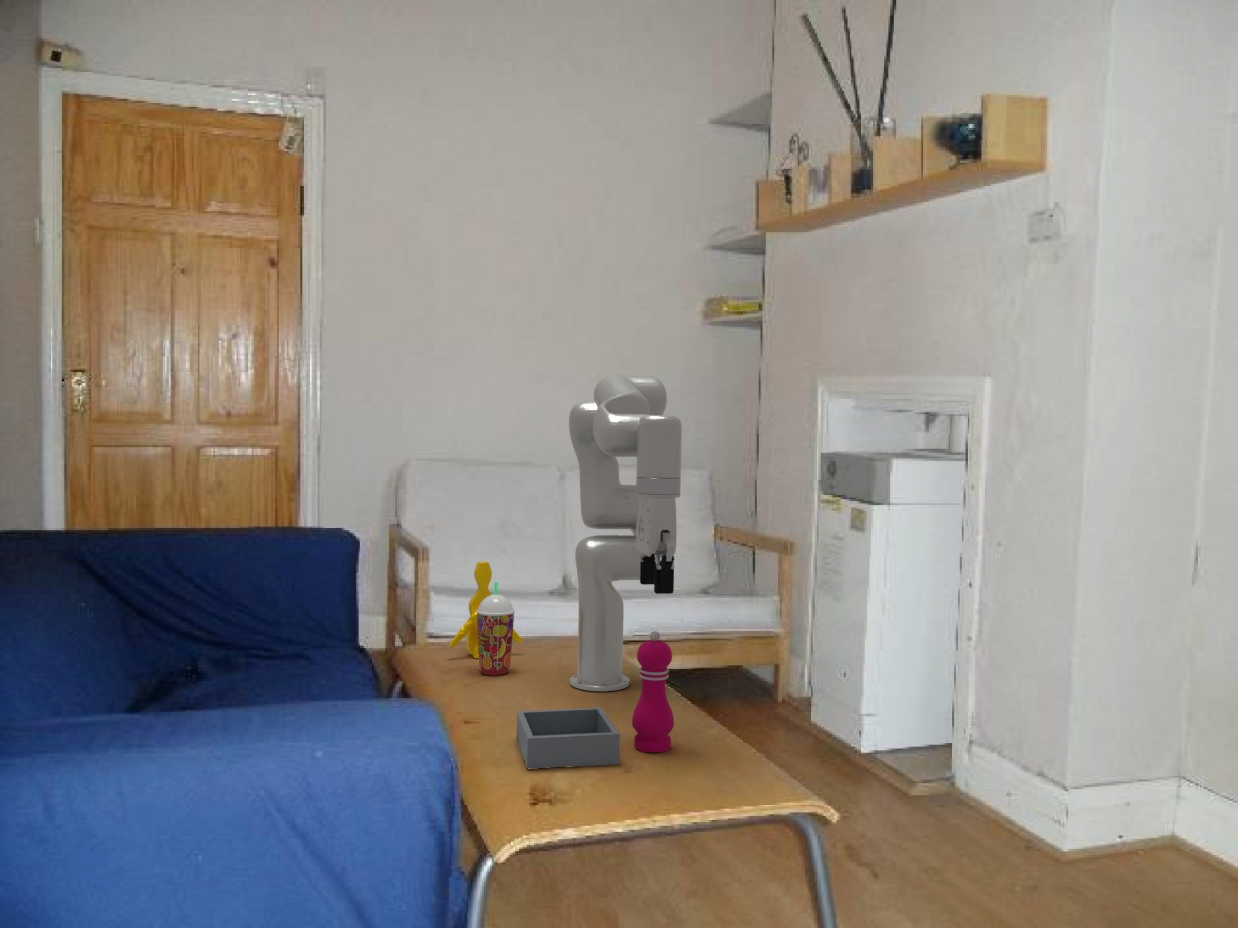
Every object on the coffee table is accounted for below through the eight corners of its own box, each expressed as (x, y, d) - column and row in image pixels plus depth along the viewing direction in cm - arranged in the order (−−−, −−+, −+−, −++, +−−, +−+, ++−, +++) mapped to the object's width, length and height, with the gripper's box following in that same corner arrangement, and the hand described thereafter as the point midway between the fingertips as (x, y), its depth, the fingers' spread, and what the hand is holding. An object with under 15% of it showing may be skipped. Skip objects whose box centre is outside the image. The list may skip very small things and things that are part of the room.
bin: (516, 739, 170) (516, 711, 170) (600, 735, 173) (601, 707, 173) (527, 769, 156) (527, 738, 155) (619, 764, 159) (619, 733, 159)
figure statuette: (450, 662, 224) (452, 566, 223) (443, 654, 231) (444, 561, 230) (525, 656, 231) (526, 563, 230) (515, 649, 238) (517, 559, 237)
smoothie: (470, 669, 218) (472, 580, 217) (506, 666, 221) (508, 578, 220) (481, 678, 210) (483, 586, 209) (518, 675, 214) (520, 584, 213)
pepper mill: (638, 755, 163) (640, 636, 163) (626, 741, 170) (628, 627, 170) (679, 752, 165) (682, 634, 164) (665, 738, 172) (668, 626, 171)
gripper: (625, 485, 174) (623, 581, 174) (649, 491, 157) (647, 597, 157) (666, 485, 175) (664, 580, 176) (694, 491, 158) (692, 596, 159)
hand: (656, 588), depth 167 cm, fingers open, 9 cm apart
